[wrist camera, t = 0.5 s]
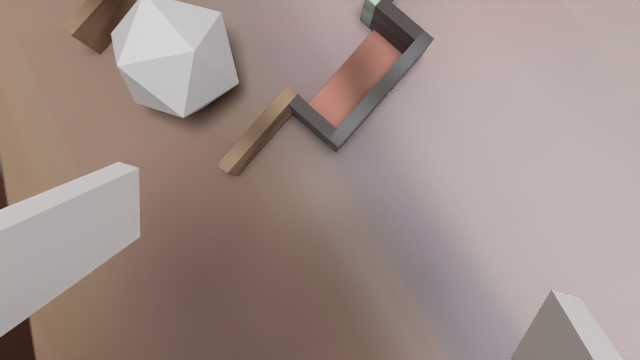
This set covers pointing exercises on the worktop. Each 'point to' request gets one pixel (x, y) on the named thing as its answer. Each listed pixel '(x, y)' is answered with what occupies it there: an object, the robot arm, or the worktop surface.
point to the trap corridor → (319, 115)
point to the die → (174, 56)
